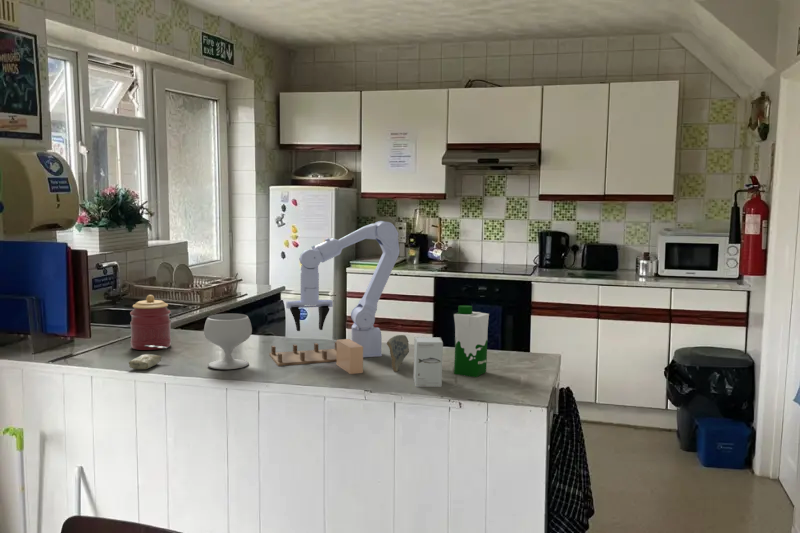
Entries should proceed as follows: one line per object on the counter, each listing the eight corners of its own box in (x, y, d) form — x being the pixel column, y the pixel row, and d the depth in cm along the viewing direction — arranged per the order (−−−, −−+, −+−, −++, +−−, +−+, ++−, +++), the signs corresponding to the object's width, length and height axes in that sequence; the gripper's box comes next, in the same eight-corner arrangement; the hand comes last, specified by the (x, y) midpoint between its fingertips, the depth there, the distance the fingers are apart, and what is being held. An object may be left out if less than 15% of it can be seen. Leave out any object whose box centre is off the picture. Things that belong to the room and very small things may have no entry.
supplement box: (415, 387, 187) (416, 341, 186) (413, 380, 195) (414, 336, 193) (442, 387, 188) (443, 341, 186) (439, 380, 195) (440, 336, 194)
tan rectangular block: (348, 364, 213) (348, 338, 212) (362, 373, 202) (363, 346, 201) (336, 365, 211) (336, 339, 210) (349, 374, 200) (350, 347, 199)
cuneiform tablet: (168, 347, 213) (149, 356, 201) (167, 361, 213) (148, 371, 201) (146, 344, 214) (126, 354, 202) (146, 359, 214) (126, 368, 202)
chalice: (213, 359, 216) (212, 312, 214) (257, 361, 215) (257, 313, 214) (197, 370, 202) (196, 319, 200) (244, 372, 201) (244, 321, 200)
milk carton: (463, 369, 208) (464, 303, 206) (490, 373, 204) (492, 306, 202) (449, 375, 201) (451, 307, 199) (477, 379, 196) (479, 310, 194)
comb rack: (338, 350, 231) (338, 341, 231) (350, 360, 217) (351, 350, 217) (269, 355, 223) (269, 345, 223) (277, 366, 209) (277, 355, 209)
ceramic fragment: (394, 373, 202) (394, 340, 201) (384, 372, 203) (385, 338, 202) (411, 366, 211) (411, 334, 210) (402, 365, 213) (402, 333, 212)
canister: (179, 345, 235) (178, 294, 234) (147, 352, 224) (146, 298, 223) (154, 341, 242) (153, 291, 241) (122, 347, 231) (121, 295, 230)
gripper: (328, 285, 224) (328, 326, 225) (284, 286, 219) (284, 328, 220) (334, 287, 217) (334, 330, 219) (288, 289, 212) (288, 332, 214)
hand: (309, 330), depth 219 cm, fingers open, 7 cm apart
